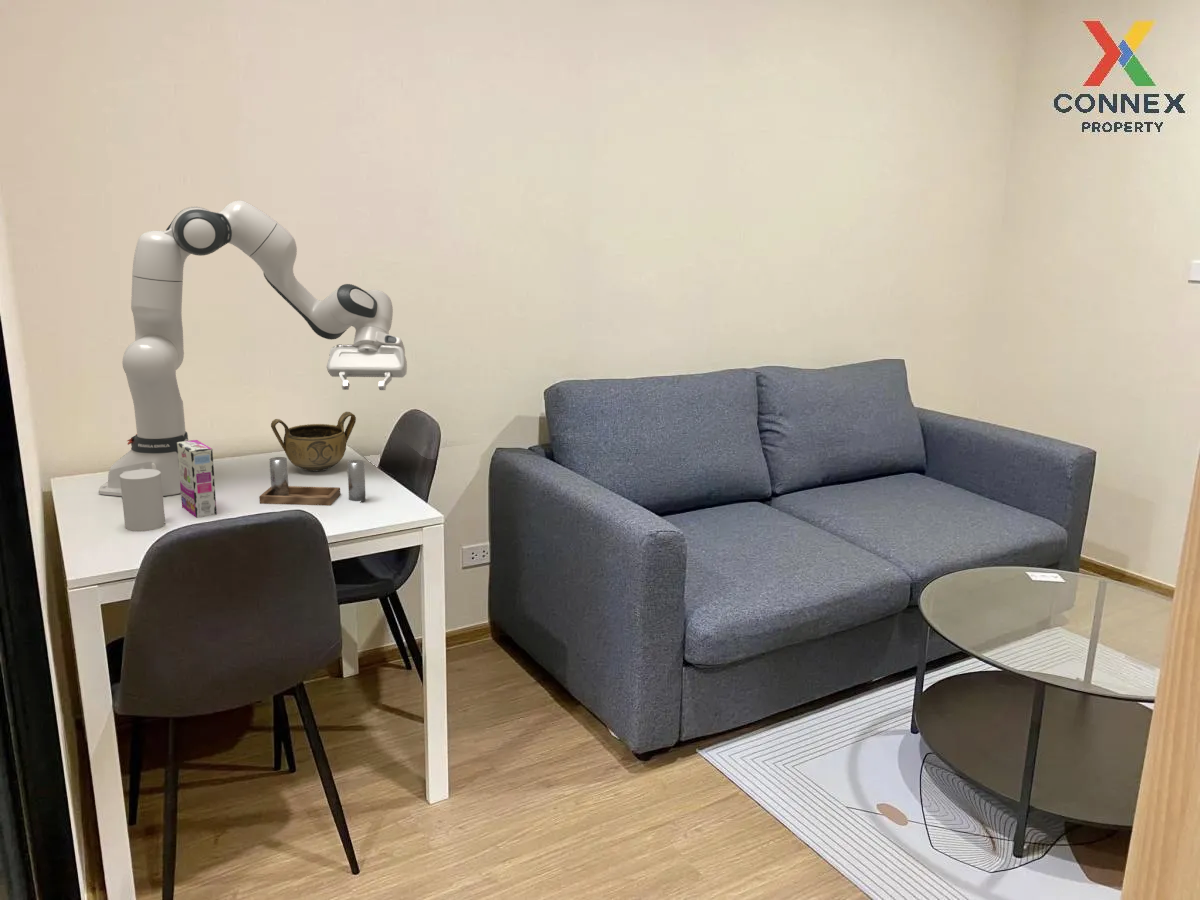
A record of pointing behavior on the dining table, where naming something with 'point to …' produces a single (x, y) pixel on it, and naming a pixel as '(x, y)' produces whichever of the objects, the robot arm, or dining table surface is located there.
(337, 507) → the dining table surface
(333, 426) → the ceramic bowl
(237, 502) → the dining table surface
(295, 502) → the tray
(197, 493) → the candy bar box
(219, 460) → the dining table surface
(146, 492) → the cup
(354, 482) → the cylinder
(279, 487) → the cylinder
